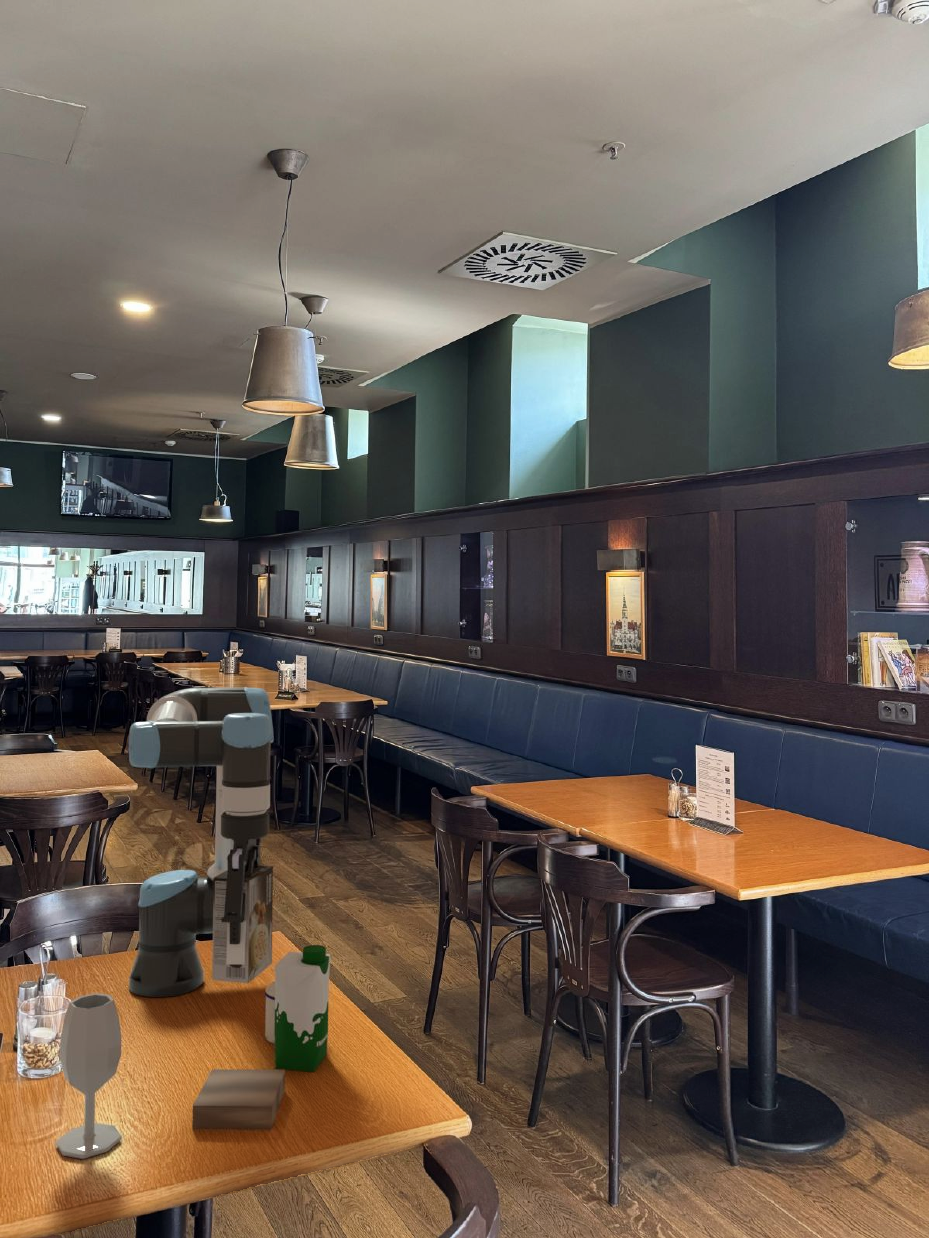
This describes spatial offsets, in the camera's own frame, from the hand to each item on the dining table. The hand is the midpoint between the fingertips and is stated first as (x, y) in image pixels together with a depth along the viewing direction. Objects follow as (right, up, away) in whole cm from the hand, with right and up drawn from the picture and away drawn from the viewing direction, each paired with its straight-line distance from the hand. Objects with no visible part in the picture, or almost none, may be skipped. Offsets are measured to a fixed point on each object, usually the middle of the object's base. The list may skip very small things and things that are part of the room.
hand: (242, 952), depth 152 cm
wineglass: (-20, -25, -11) cm, 34 cm away
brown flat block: (0, -25, 0) cm, 25 cm away
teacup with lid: (+2, -25, +29) cm, 39 cm away
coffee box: (0, -3, 0) cm, 3 cm away
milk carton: (+6, -25, +17) cm, 31 cm away
